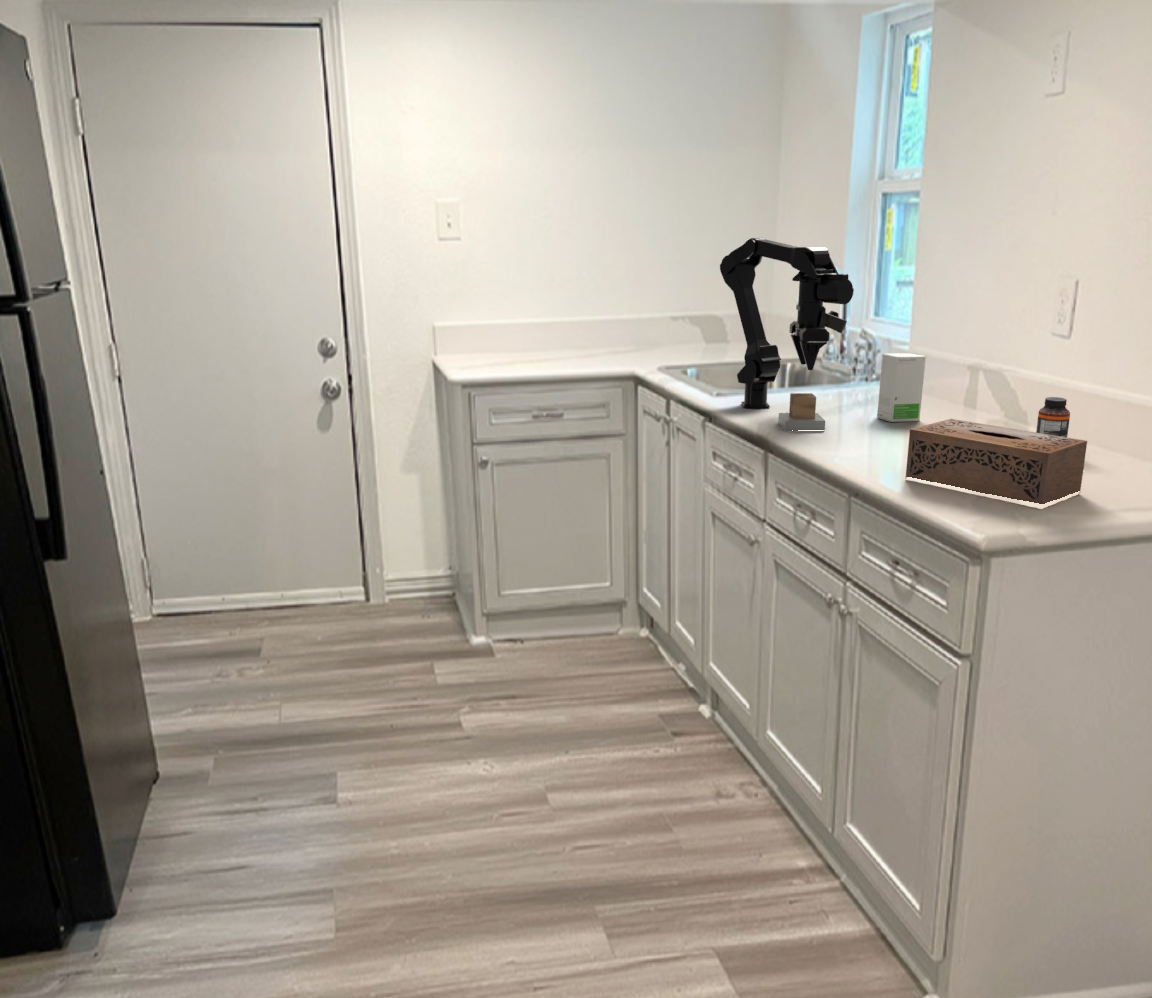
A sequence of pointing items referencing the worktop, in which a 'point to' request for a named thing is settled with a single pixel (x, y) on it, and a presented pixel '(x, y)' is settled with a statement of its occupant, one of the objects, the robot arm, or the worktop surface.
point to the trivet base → (801, 423)
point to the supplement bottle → (1053, 417)
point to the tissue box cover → (996, 460)
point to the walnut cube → (802, 405)
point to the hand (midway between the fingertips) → (806, 367)
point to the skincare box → (901, 387)
